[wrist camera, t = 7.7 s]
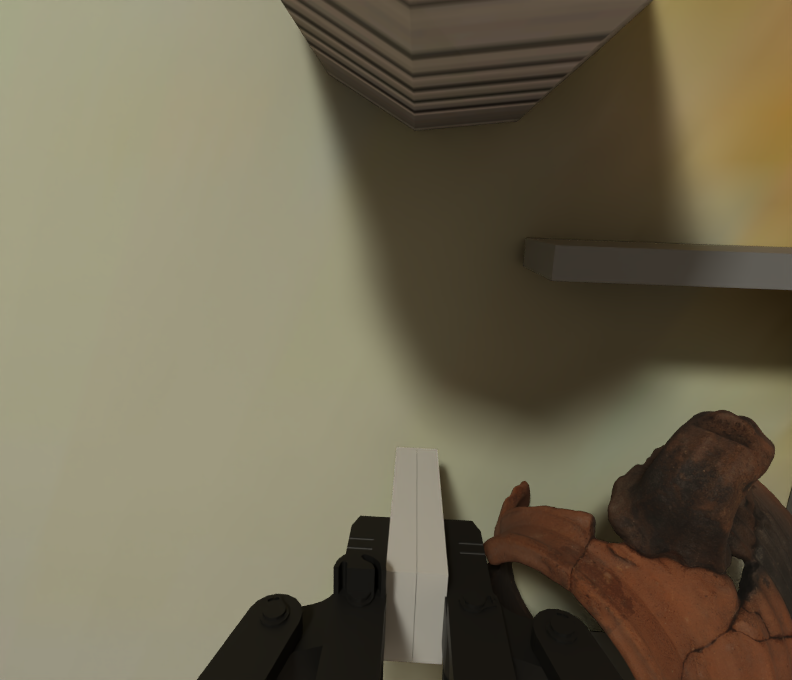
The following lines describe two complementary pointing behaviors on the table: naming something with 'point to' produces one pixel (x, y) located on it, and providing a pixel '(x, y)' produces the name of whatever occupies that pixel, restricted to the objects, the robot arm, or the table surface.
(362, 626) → the robot arm
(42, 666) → the table surface
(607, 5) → the can
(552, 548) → the brown ring with knob
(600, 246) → the box
